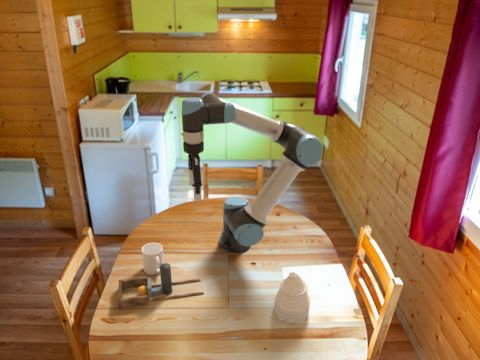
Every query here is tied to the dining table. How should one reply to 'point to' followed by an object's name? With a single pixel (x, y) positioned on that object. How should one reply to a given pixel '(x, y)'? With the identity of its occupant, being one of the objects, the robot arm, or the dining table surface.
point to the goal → (132, 300)
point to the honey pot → (292, 299)
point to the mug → (152, 258)
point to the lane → (176, 295)
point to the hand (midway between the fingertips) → (195, 192)
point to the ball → (142, 290)
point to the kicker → (162, 281)
